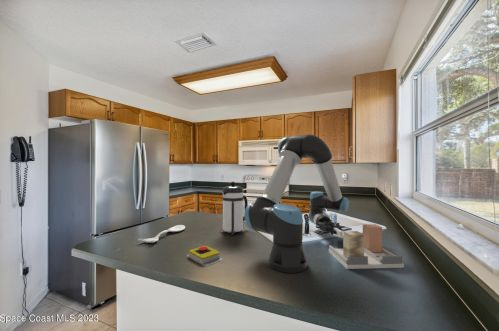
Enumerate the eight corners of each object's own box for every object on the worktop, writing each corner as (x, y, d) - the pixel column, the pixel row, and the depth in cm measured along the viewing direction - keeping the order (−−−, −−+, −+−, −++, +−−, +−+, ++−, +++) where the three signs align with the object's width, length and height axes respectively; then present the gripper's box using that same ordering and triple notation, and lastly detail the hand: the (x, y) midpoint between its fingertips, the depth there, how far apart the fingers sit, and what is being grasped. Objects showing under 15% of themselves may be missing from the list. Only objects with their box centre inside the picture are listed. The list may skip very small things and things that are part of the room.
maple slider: (349, 263, 88) (349, 234, 88) (343, 257, 93) (343, 231, 93) (364, 262, 89) (364, 234, 89) (357, 257, 94) (357, 231, 94)
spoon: (137, 245, 113) (137, 238, 113) (175, 228, 143) (175, 222, 143) (152, 247, 110) (152, 240, 110) (188, 229, 141) (188, 224, 141)
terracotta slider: (368, 252, 99) (369, 227, 99) (362, 248, 104) (362, 224, 104) (382, 252, 100) (382, 227, 100) (375, 248, 105) (375, 224, 105)
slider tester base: (346, 268, 87) (346, 257, 87) (328, 252, 104) (328, 242, 104) (403, 267, 89) (403, 256, 89) (376, 251, 106) (377, 241, 106)
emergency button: (203, 241, 106) (224, 250, 95) (203, 251, 106) (223, 261, 95) (185, 246, 99) (205, 256, 89) (185, 256, 99) (205, 268, 89)
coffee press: (246, 236, 127) (247, 182, 127) (218, 236, 127) (218, 182, 127) (247, 227, 144) (247, 180, 144) (222, 227, 145) (222, 180, 144)
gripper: (333, 228, 127) (355, 242, 104) (310, 228, 127) (327, 243, 103) (333, 215, 127) (355, 226, 104) (310, 215, 127) (327, 226, 103)
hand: (341, 234), depth 103 cm, fingers closed
